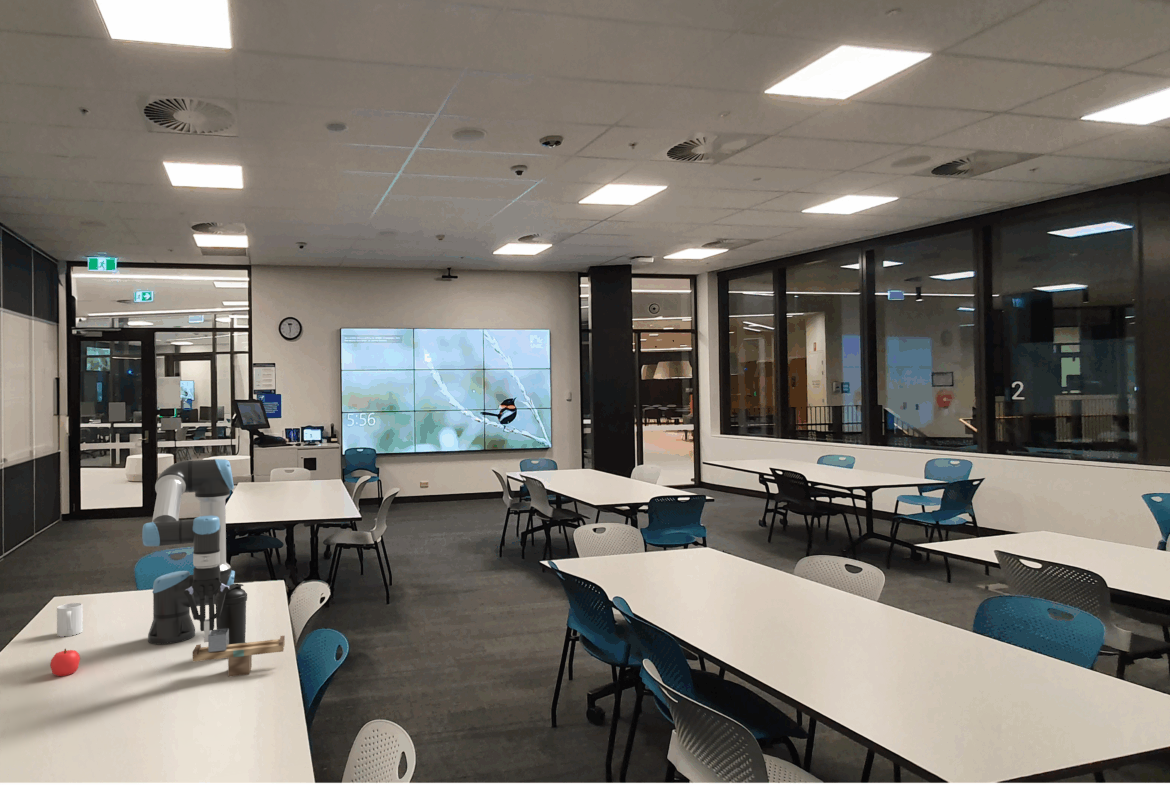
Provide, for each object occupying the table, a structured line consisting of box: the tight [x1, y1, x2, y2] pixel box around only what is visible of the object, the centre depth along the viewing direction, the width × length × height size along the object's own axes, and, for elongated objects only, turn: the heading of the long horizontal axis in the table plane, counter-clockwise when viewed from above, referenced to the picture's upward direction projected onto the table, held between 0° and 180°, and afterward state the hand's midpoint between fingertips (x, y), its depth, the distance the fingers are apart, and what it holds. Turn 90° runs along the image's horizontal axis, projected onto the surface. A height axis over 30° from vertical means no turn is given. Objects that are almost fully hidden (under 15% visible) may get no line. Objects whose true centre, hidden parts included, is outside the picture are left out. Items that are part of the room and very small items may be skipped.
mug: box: [56, 602, 84, 638], centre depth 276 cm, size 12×8×10 cm, turn 32°
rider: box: [207, 628, 229, 652], centre depth 235 cm, size 5×6×7 cm
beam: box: [192, 635, 286, 678], centre depth 237 cm, size 26×7×9 cm, turn 109°
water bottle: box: [214, 583, 248, 644], centre depth 254 cm, size 10×10×23 cm
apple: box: [50, 648, 81, 677], centre depth 237 cm, size 8×8×8 cm
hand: (207, 640), depth 234 cm, fingers closed
